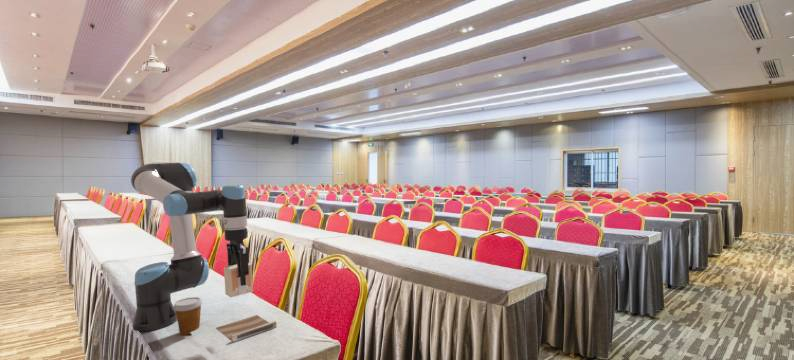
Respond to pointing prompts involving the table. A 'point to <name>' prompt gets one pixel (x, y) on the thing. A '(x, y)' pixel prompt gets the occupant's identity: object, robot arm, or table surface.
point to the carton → (236, 280)
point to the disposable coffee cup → (188, 314)
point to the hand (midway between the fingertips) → (239, 292)
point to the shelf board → (246, 328)
